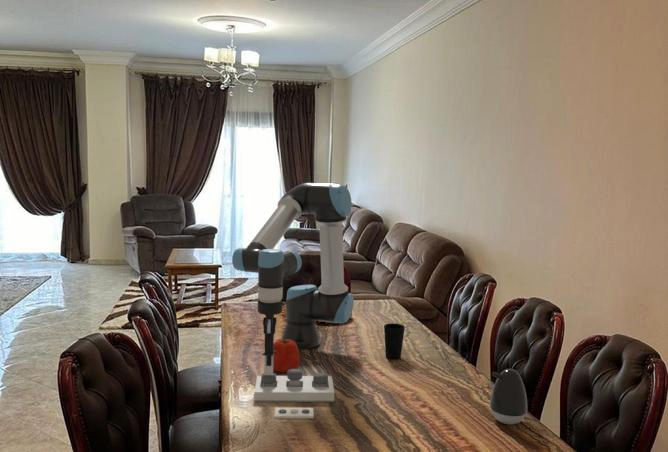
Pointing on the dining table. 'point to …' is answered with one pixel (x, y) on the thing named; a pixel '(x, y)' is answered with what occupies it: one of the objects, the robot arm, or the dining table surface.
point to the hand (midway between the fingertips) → (268, 374)
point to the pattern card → (294, 413)
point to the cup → (393, 340)
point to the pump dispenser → (508, 397)
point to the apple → (285, 355)
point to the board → (294, 391)
